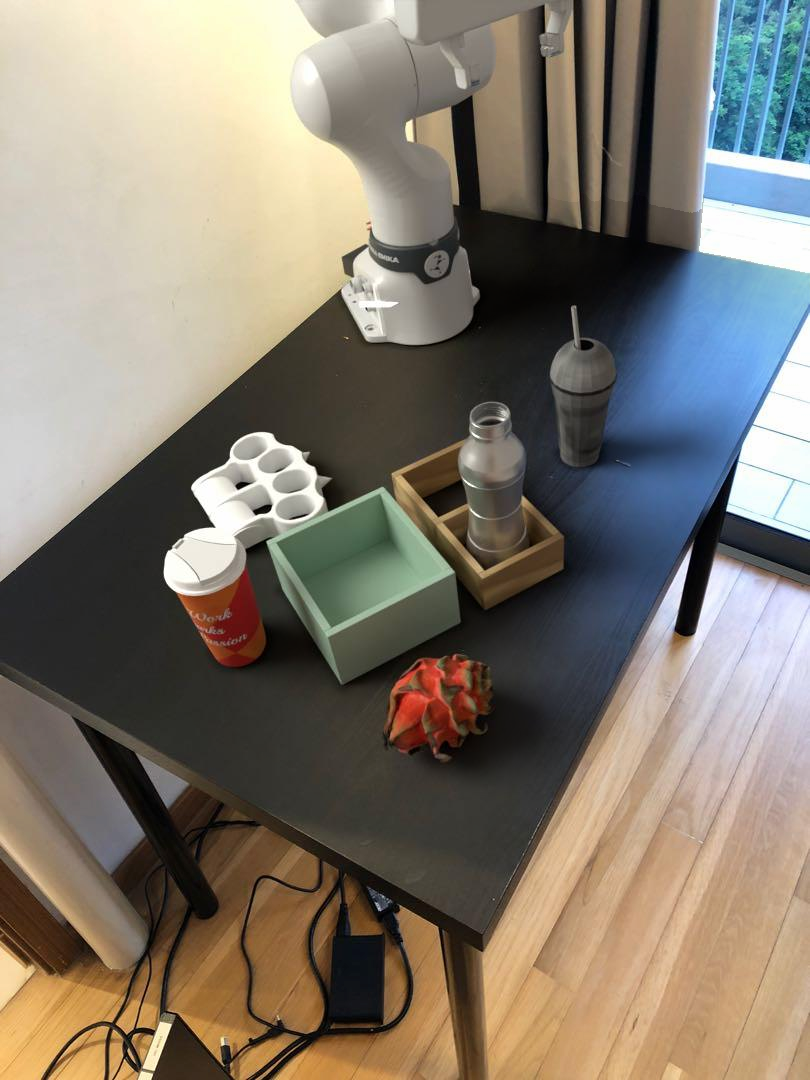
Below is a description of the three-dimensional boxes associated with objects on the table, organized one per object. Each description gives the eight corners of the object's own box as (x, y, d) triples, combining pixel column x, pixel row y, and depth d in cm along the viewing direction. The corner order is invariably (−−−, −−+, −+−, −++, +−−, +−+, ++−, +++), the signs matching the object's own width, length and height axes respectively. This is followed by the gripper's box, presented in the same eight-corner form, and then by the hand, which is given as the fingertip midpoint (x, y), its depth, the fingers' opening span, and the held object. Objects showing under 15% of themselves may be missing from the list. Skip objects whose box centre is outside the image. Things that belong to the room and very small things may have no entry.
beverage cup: (610, 477, 100) (621, 327, 86) (545, 474, 102) (546, 327, 87) (612, 435, 105) (623, 287, 90) (550, 433, 106) (552, 287, 92)
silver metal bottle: (542, 564, 92) (542, 416, 78) (489, 593, 90) (478, 448, 76) (507, 529, 96) (500, 382, 82) (455, 556, 95) (439, 411, 80)
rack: (396, 505, 101) (391, 473, 97) (468, 470, 104) (465, 438, 100) (484, 610, 89) (482, 579, 85) (563, 569, 92) (564, 536, 88)
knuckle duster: (186, 485, 108) (292, 437, 112) (243, 574, 96) (358, 517, 100) (178, 465, 105) (286, 416, 109) (235, 554, 94) (354, 496, 98)
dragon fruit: (504, 702, 83) (404, 781, 81) (451, 629, 84) (350, 706, 81) (529, 704, 75) (418, 793, 72) (470, 624, 75) (358, 709, 73)
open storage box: (282, 589, 94) (265, 540, 89) (392, 536, 98) (383, 486, 92) (342, 685, 85) (327, 637, 79) (461, 622, 88) (455, 572, 83)
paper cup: (187, 657, 89) (142, 567, 79) (236, 605, 93) (198, 513, 83) (244, 688, 86) (204, 598, 76) (292, 633, 90) (260, 540, 80)
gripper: (571, -142, 77) (580, 33, 86) (370, -81, 71) (401, 99, 80) (619, -146, 72) (622, 40, 81) (407, -81, 67) (436, 110, 76)
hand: (511, 70), depth 81 cm, fingers open, 8 cm apart
